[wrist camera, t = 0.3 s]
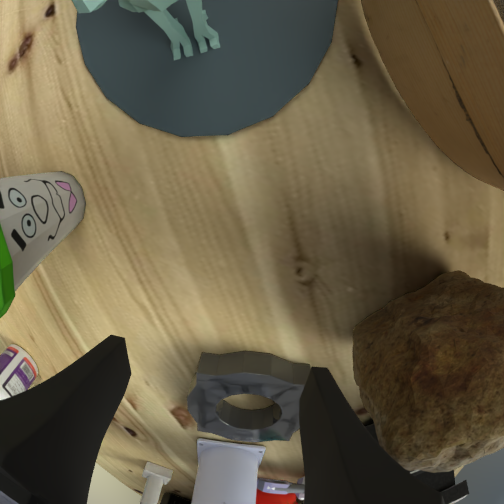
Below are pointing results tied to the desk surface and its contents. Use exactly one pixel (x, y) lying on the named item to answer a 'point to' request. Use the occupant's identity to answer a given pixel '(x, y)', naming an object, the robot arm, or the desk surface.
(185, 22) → the dinosaur
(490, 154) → the steamer basket
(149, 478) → the model tower
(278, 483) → the toy gun
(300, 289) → the desk surface
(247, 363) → the grey hollow flat block
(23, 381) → the pill bottle
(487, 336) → the stone
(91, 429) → the robot arm
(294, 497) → the tomato
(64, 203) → the cup
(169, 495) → the multiport hub
